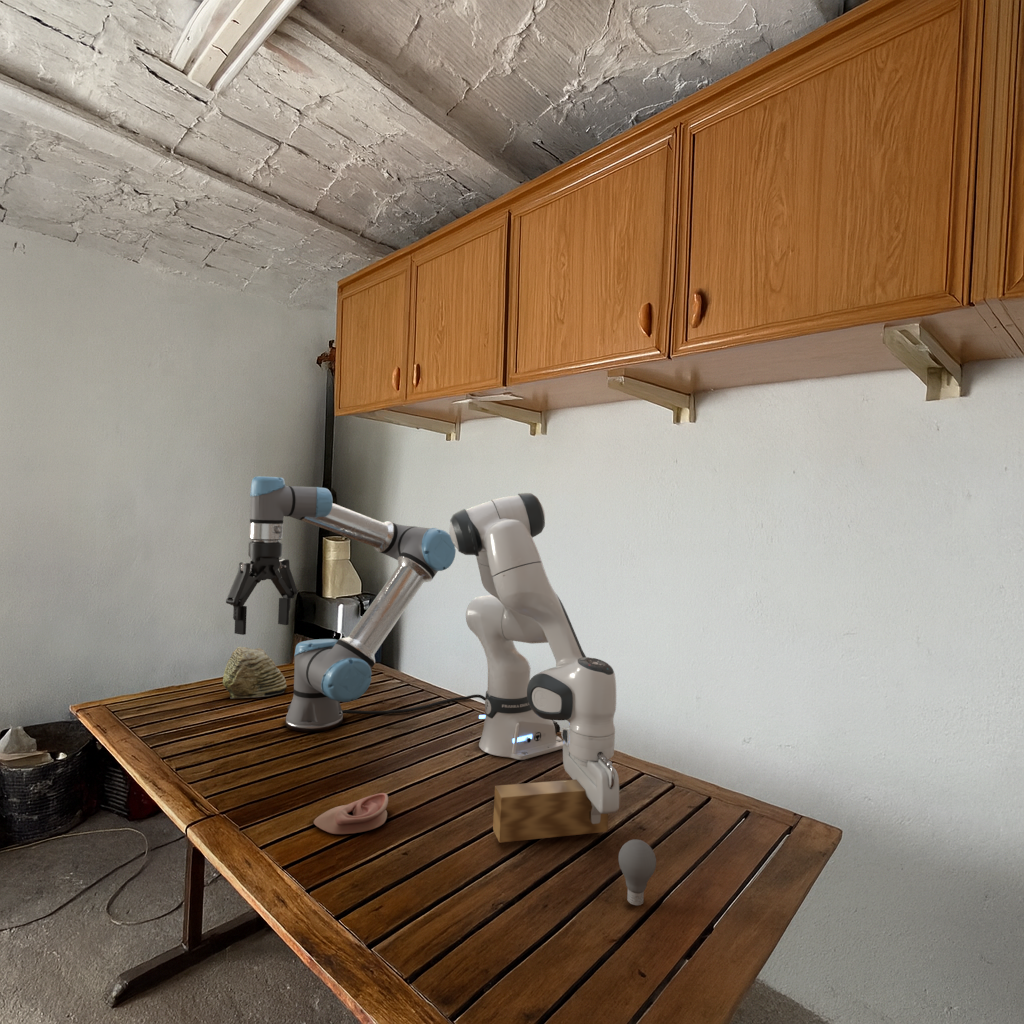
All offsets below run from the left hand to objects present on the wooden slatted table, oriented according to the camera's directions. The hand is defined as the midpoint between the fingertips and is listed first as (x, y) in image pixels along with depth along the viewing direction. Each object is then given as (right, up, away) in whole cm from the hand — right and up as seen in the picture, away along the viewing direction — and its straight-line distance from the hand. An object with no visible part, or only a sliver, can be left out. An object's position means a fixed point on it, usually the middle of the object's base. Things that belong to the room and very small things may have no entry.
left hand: (262, 629), depth 152 cm
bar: (+67, -33, -31) cm, 81 cm away
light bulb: (+80, -35, -50) cm, 101 cm away
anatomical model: (+28, -33, -28) cm, 52 cm away
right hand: (+75, -31, -29) cm, 86 cm away
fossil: (-21, -29, +46) cm, 58 cm away
